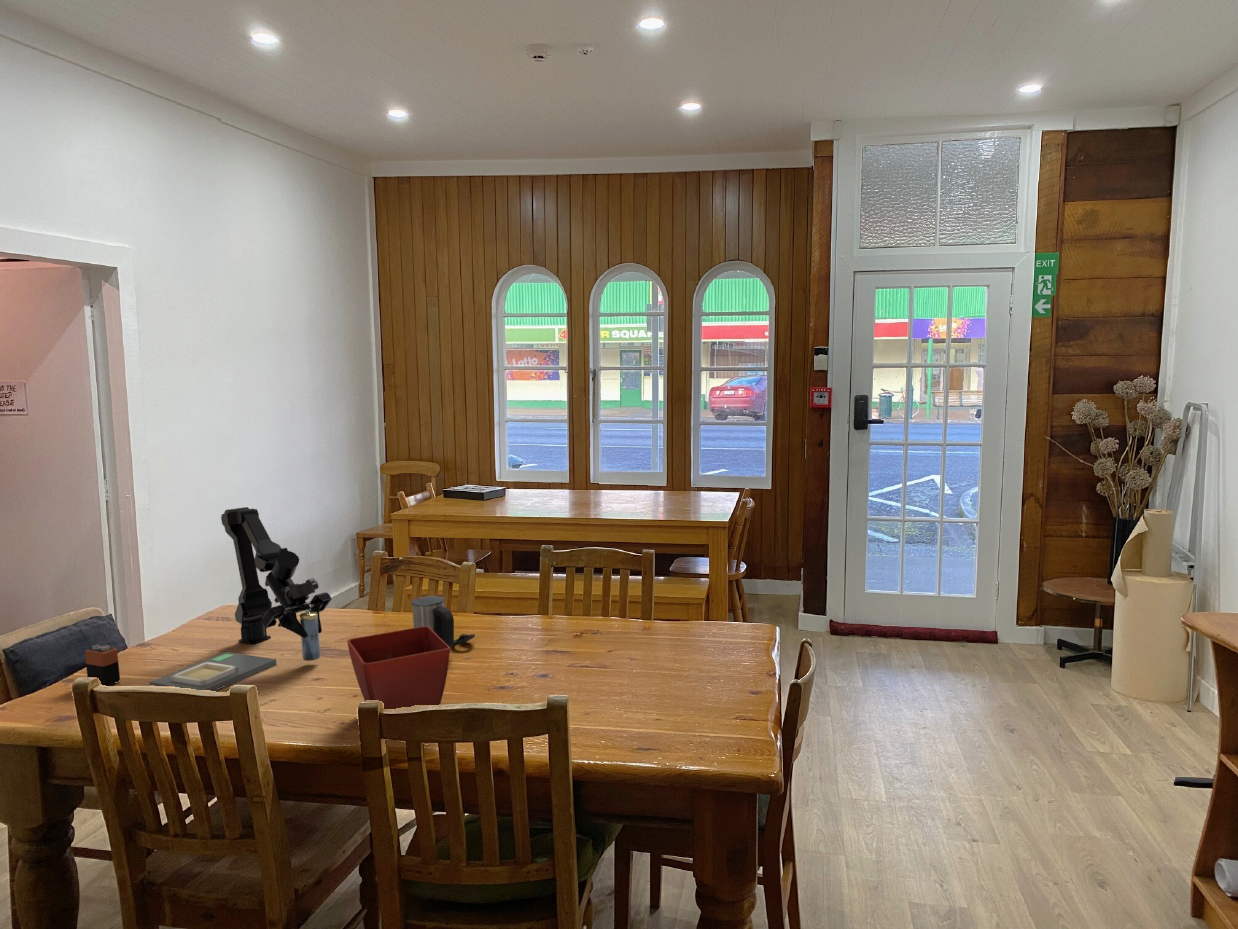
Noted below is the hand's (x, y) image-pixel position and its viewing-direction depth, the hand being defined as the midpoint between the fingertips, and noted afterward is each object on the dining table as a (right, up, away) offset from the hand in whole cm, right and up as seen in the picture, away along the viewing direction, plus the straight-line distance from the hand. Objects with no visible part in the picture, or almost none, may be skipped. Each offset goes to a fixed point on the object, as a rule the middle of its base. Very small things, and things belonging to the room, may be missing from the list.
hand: (313, 634), depth 231 cm
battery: (-51, -11, -8) cm, 52 cm away
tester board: (-24, -10, -5) cm, 26 cm away
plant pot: (+32, -12, -33) cm, 47 cm away
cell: (-1, -7, +2) cm, 7 cm away
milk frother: (+32, -7, +12) cm, 35 cm away
